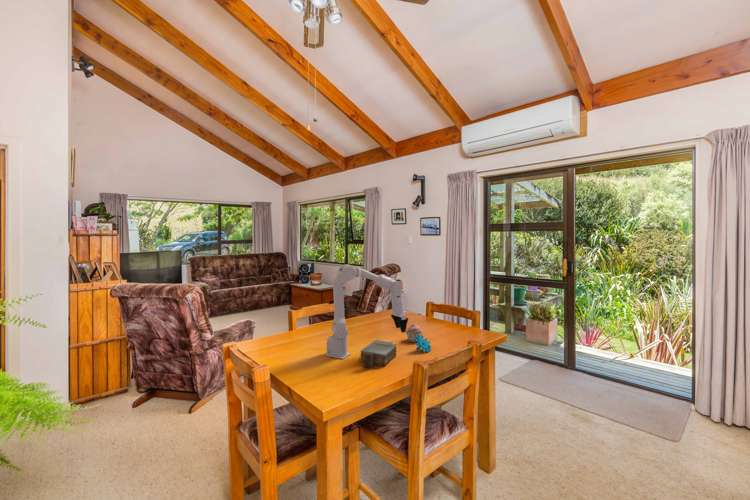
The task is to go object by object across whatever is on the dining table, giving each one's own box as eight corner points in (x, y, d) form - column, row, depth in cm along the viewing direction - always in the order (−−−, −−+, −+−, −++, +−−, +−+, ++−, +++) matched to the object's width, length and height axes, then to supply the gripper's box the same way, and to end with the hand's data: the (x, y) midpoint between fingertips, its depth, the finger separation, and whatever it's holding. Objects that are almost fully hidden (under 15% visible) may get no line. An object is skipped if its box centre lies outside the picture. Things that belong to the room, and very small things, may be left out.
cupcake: (420, 344, 189) (421, 325, 189) (403, 342, 192) (404, 324, 192) (423, 339, 198) (424, 321, 198) (407, 337, 201) (408, 320, 201)
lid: (360, 352, 162) (360, 347, 162) (373, 342, 176) (373, 337, 176) (385, 356, 157) (385, 351, 157) (396, 346, 171) (396, 341, 171)
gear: (422, 352, 173) (413, 334, 178) (415, 358, 176) (406, 340, 181) (436, 350, 180) (427, 333, 185) (429, 356, 183) (420, 339, 188)
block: (364, 368, 155) (364, 353, 155) (367, 365, 158) (367, 351, 158) (370, 369, 154) (370, 355, 154) (373, 367, 157) (373, 352, 157)
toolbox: (360, 362, 162) (360, 352, 162) (373, 352, 176) (373, 343, 176) (384, 366, 158) (385, 356, 157) (396, 355, 171) (396, 346, 171)
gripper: (410, 305, 171) (413, 332, 173) (400, 299, 185) (403, 324, 187) (396, 308, 170) (400, 335, 171) (387, 302, 184) (391, 327, 185)
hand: (401, 329), depth 179 cm, fingers open, 7 cm apart
